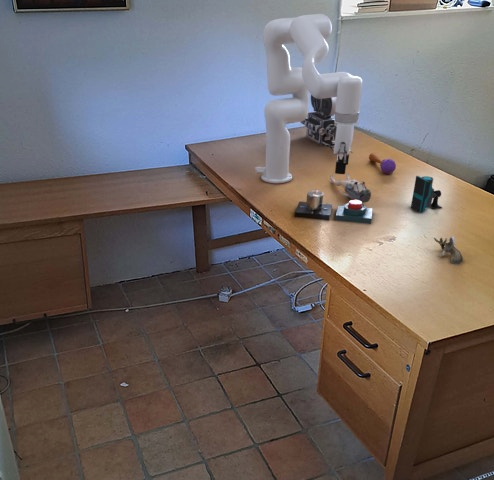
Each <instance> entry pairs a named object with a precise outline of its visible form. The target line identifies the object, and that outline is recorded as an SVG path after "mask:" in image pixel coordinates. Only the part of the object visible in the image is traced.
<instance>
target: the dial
mask: <svg viewBox="0 0 494 480" xmlns="http://www.w3.org/2000/svg"><path fill="white" fill-rule="evenodd" d="M305 202H306V209H308V210H310V211H319V210H321V209H322V203H323V202H324V192H322V191H320V190H317V189H315V190H308V191H307V192H306V201H305ZM323 204H324V203H323Z"/></svg>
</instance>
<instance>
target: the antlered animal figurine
mask: <svg viewBox="0 0 494 480" xmlns="http://www.w3.org/2000/svg"><path fill="white" fill-rule="evenodd" d="M433 240H434V241H435V242H436V243H438V244H439V246H440V248H441V250H442V252H441V255H440V256H439V257H440V258H442V257H444V256H446V254H450V262H451V263H452V264H454V265H459V264H461V263H462V262H464V261H463V259H464V257H463V255H462V253H461V251H459V249H458V248H457V247H455V246H456V238H455V237H454V236H453V235H450V237H449V239H448V238H446V237H445V239H444V240H443V237H440V238H439V240H438V239H437V238H436V237H433ZM447 241H449V242H447Z"/></svg>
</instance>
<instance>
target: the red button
mask: <svg viewBox="0 0 494 480" xmlns="http://www.w3.org/2000/svg"><path fill="white" fill-rule="evenodd" d="M348 203H349V206H348V207H349V208H351V209H356V210H357V209H361V208H362V204H363V203H362V202H361V201H360V200H352V199H350V200H349V201H348Z"/></svg>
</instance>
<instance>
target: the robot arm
mask: <svg viewBox="0 0 494 480" xmlns="http://www.w3.org/2000/svg"><path fill="white" fill-rule="evenodd" d="M332 24H333V23H332V21H331V19H330V18H329V16H328V15H326V14H325V13H315V14H314V13H313V14H303V15H299V16H296V17H285V18H284V17H283V18H275V19H272V20H270V21H268V22H267V23H266V25H265V26H264V29H263V32H262V33H263V35H262V40H263V41H262V42H263V46H264V50H265V55H266V72H267V73H266V75H267V78H266V79H267V90H268V93H269V94H270V95H272V96H274V97H275V96H287V95H292V97H284V98H277V99H273V100H270V101H269V102H268V103H266V105H265V106H264V111H263V112H264V115H263V116H264V122H265V165H264V166H255V167H254V172H256V174H261V177H260V178H261V180H262V181H264V182H266V183H269V184H285V183H289V182H290V181H292V180H293V175H292V174H291V173H290V171H289V170H290V168H289V167H290V153H291V152H290V151H291V150H290V149H291V134H290V131H289V130H288V128H287V127H286V125H289V124H295V123H301V121H304V120H305V119H307V116H308V113H309V110H310V109H309V107H310V96H311V95H312V96H313V97H315V98H317V99H324V98H331V97H337V98H336V109H335V115H334V119H335V121H334V122H335V124H336V127H337V129H336V137H335V140H334V142H335V146H333V147H334V150H333V154H334V155H337V157H336V161H335V169H334V173H335V175H346V170H347V166H348V165H349V159H350V158H349V157H350V153H351V152H350V151H351V148H352V144H353V138H354V131H355V125H358V124H359V120H360V110H361V101H362V92H363V78H361V77H360V76H357V75H352V74H351V73H349V72H347V71H336V72H326V73H320V72H319V71H318V69H317V67H315V66H316V65H318V64H320V63H321V62H322V61H323V60H324V59H325V58H326V57H327V55H328V53H329V49H330V48H329V45H328V42H327V41H326V40H328V39H329V38H330V37H331V35H332V31H333V25H332ZM291 44H295V45H296V47H297V48H298V50H299V52H300V53H301V56H302V57H303V59H304V60H303V62H302V67H300V66H296V67H295V66H293V67H291V56H290V53H289V51H288V49H287V47H286V46H285V45H291Z"/></svg>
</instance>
